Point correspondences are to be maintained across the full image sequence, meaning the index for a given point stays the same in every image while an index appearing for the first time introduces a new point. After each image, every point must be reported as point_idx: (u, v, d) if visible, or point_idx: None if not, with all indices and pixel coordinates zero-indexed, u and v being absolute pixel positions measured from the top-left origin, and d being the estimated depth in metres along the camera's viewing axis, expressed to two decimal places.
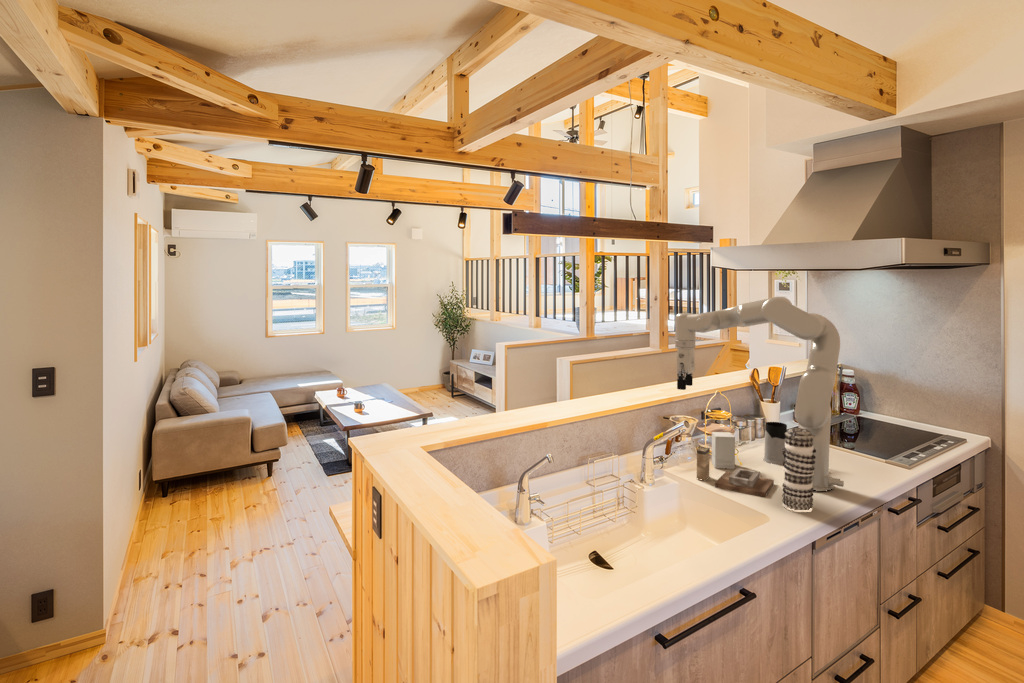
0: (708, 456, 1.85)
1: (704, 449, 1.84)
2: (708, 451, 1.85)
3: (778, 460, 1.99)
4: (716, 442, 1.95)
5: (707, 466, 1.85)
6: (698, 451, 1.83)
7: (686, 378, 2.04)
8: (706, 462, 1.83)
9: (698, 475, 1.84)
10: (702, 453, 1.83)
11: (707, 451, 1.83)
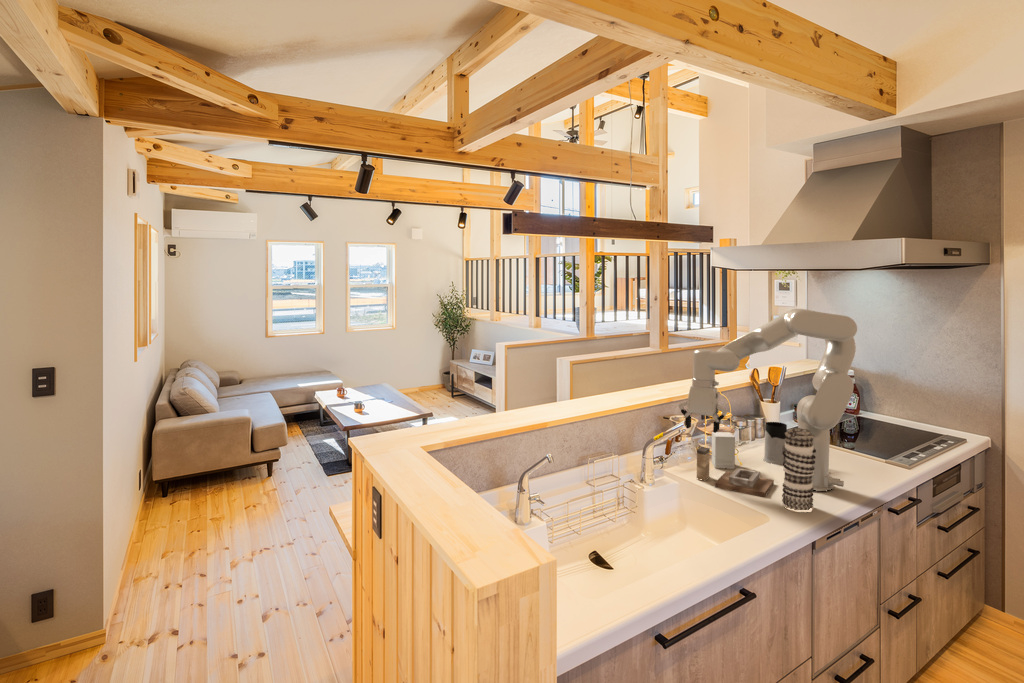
0: (708, 456, 1.85)
1: (704, 449, 1.84)
2: (708, 451, 1.85)
3: (778, 460, 1.99)
4: (716, 442, 1.95)
5: (707, 466, 1.85)
6: (698, 451, 1.83)
7: (689, 420, 1.86)
8: (706, 462, 1.83)
9: (698, 475, 1.84)
10: (702, 453, 1.83)
11: (707, 451, 1.83)
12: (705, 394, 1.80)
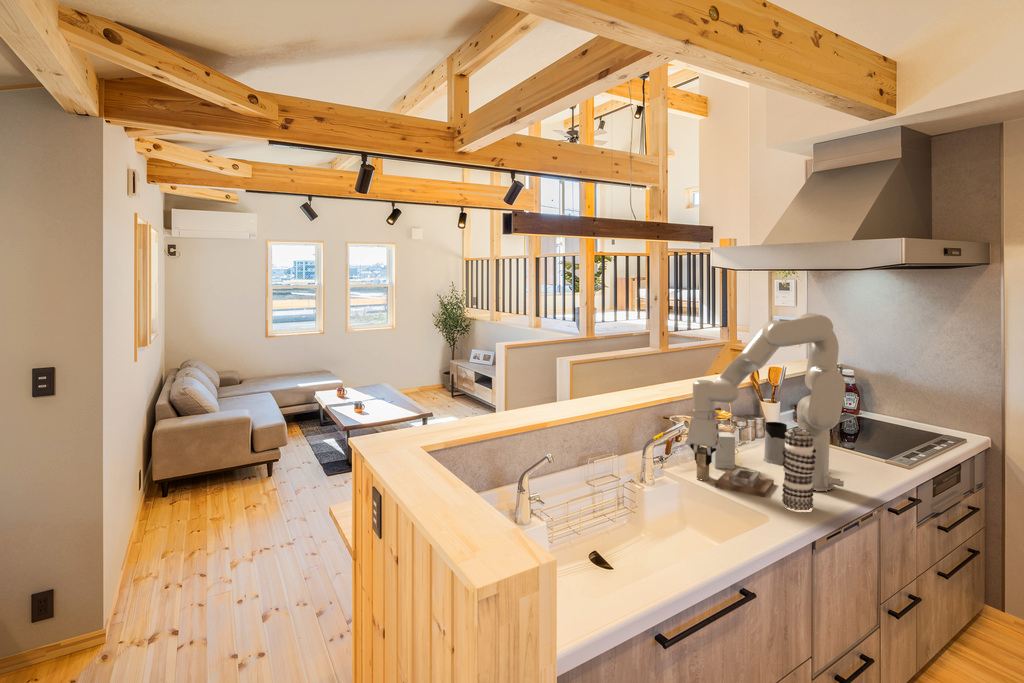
0: None
1: (704, 449, 1.84)
2: None
3: (778, 460, 1.99)
4: None
5: (707, 466, 1.85)
6: (698, 451, 1.83)
7: None
8: None
9: (698, 475, 1.84)
10: (702, 453, 1.83)
11: None
12: (705, 425, 1.81)
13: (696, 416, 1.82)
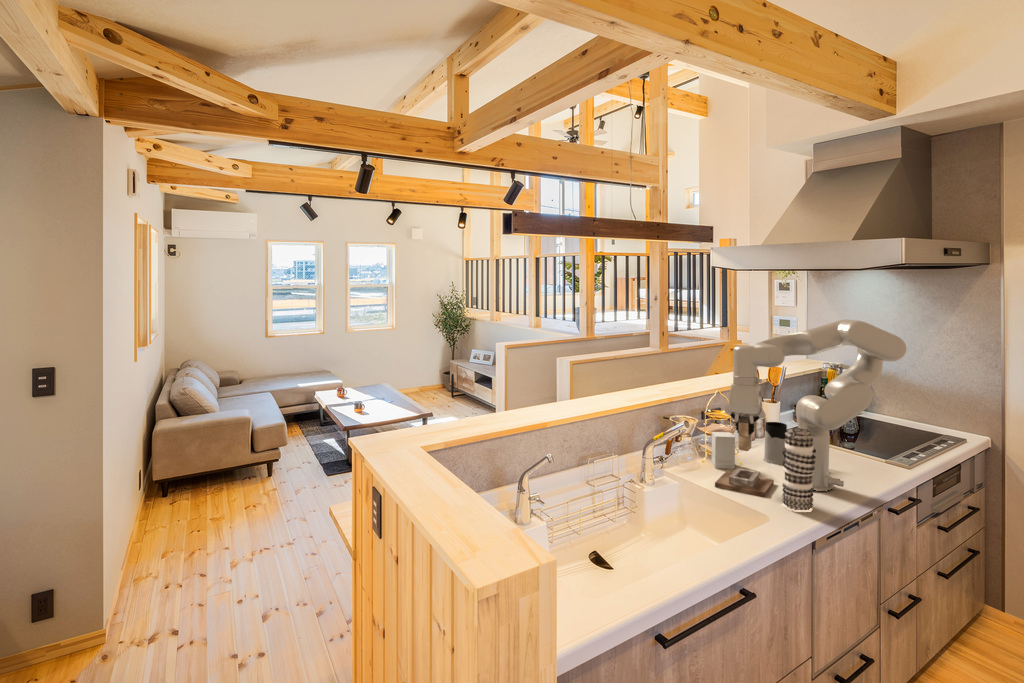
0: None
1: (746, 418, 1.75)
2: None
3: (778, 460, 1.99)
4: (716, 442, 1.95)
5: (749, 436, 1.76)
6: (740, 420, 1.75)
7: None
8: (748, 431, 1.75)
9: (741, 445, 1.75)
10: (744, 422, 1.74)
11: (749, 419, 1.75)
12: (748, 392, 1.72)
13: (738, 383, 1.73)
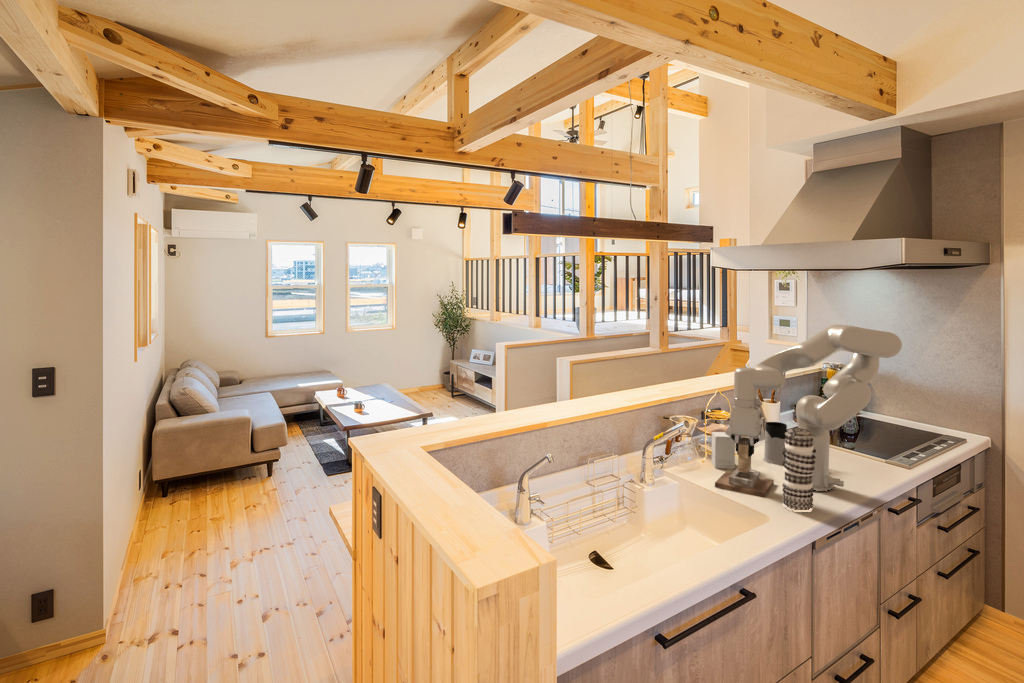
0: None
1: (746, 439, 1.76)
2: None
3: (778, 460, 1.99)
4: (716, 442, 1.95)
5: (749, 457, 1.76)
6: (740, 441, 1.75)
7: None
8: None
9: (740, 467, 1.76)
10: (744, 444, 1.74)
11: (749, 441, 1.75)
12: (748, 414, 1.73)
13: (738, 405, 1.73)
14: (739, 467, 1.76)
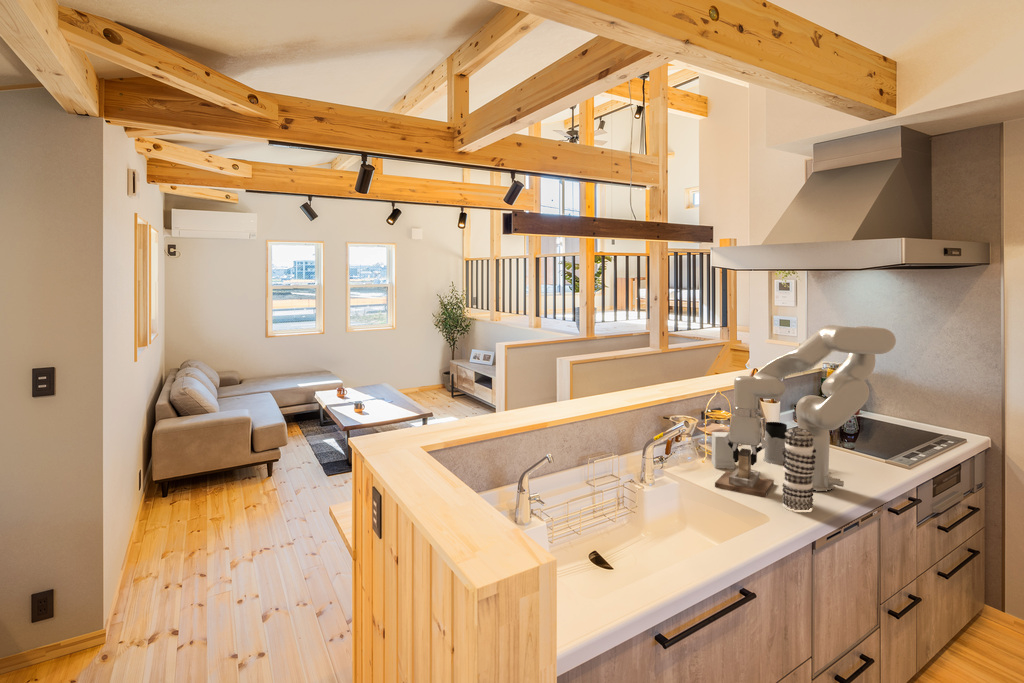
0: (750, 458, 1.77)
1: (746, 451, 1.76)
2: (750, 453, 1.77)
3: (778, 460, 1.99)
4: (716, 442, 1.95)
5: (749, 468, 1.77)
6: (740, 453, 1.75)
7: (737, 454, 1.78)
8: (748, 464, 1.75)
9: None
10: (744, 455, 1.75)
11: (749, 453, 1.75)
12: (748, 423, 1.73)
13: (738, 414, 1.74)
14: None
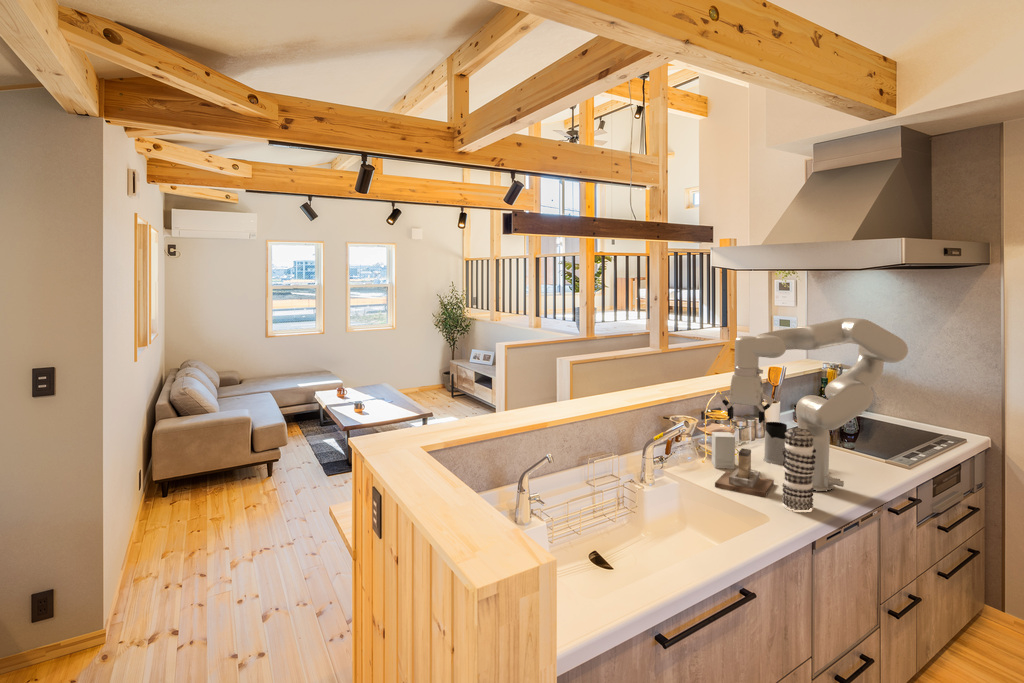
0: (750, 458, 1.77)
1: (746, 451, 1.76)
2: (750, 453, 1.77)
3: (778, 460, 1.99)
4: (716, 442, 1.95)
5: (749, 468, 1.77)
6: (740, 453, 1.75)
7: (731, 411, 1.78)
8: (748, 464, 1.75)
9: None
10: (744, 455, 1.75)
11: (749, 453, 1.75)
12: (749, 382, 1.72)
13: (739, 373, 1.72)
14: None
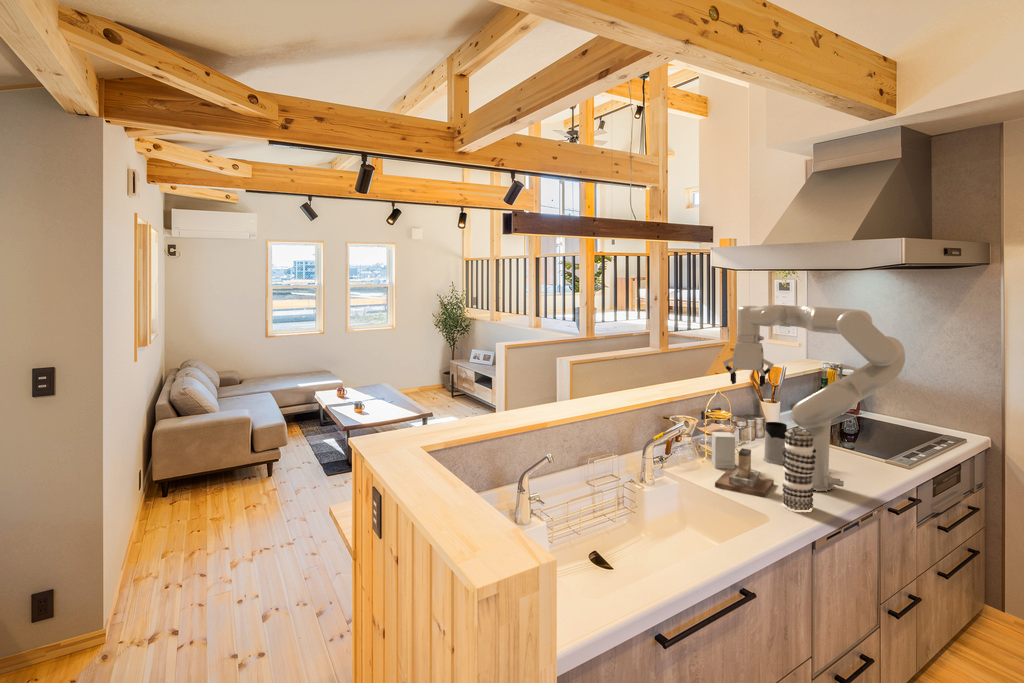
0: (750, 458, 1.77)
1: (746, 451, 1.76)
2: (750, 453, 1.77)
3: (778, 460, 1.99)
4: (716, 442, 1.95)
5: (749, 468, 1.77)
6: (740, 453, 1.75)
7: (734, 376, 1.90)
8: (748, 464, 1.75)
9: None
10: (744, 455, 1.75)
11: (749, 453, 1.75)
12: (751, 348, 1.84)
13: (741, 340, 1.85)
14: None
